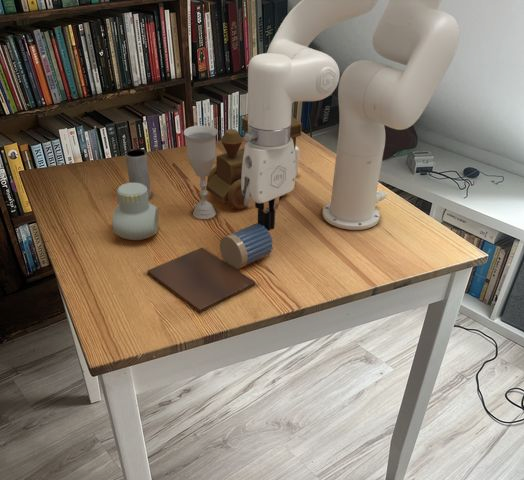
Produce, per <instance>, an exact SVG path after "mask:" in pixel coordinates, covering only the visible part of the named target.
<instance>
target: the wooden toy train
mask: <svg viewBox="0 0 524 480" xmlns="http://www.w3.org/2000/svg"><path fill="white" fill-rule="evenodd" d="M302 128H303V123H302V122H301V121H299V120H298V119H296V118H295V117H293V116H291V133H290V137H291V138H292V139H293V143H294V149H295V146H297V145H296V144H297V137H301V136H302V130H303V129H302ZM241 130H242V131H243V132H245V133H246V134H247V133H248V115H246V116H244V117H241ZM243 139H244V138H242V136H241V134H240V132H239V131H238V130H237V129H233V128H230V129H227V130H225V132H224V134H223V135H222V137H221V140H220V141H221V143H222V146H223V148H224V150H225V152H224V153H221V154H218V155H216V157H215V160H216V161H215V164H216V165H215V166H214V167H212V169H211V171H210V173H209V175H208V176H207V179H206V184H207V186H206V188H205V190H206V192H207V193H210V194H211V195H212V196H214V198H217V199H218V200H219V201H220V202H221V203H228V204H229V206H230V207H231V208H232V209H235V210H244V209H246V208H247V207H246V206H245V205H244V199H245V196H243V194H242V189H241V175H242V162H243V155H244V149H245V148H240V147H241V145H242V142H243ZM286 195H287V194H285V195H283V196H282V197H281V198H284V197H285V196H286Z"/></svg>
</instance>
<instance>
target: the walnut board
mask: <svg viewBox="0 0 524 480" xmlns="http://www.w3.org/2000/svg"><path fill="white" fill-rule="evenodd" d="M147 275H149V277H150V278H152V279H154V280H155V281H156V282H158V283H159V284H161V286H163V287H164V288H166V289H167V290H168V291H169V292H171V293H172V294H174V295H175V296H176V297H178V298H179V299H181V300H182V301H183V302H184V303H186V304H187V305H188V306H190V307H191V308H192V309H194V310H195V311H197V313H199V314H202V312H205V311H207V310H208V309H211V308H212V307H215V306H217V305H219V304H220V303H223V302H225V301H227V300H229V299H230V298H233V297H235V296H236V295H239V294H241V293H243V292H244V291H247V290H248V289H249V290H250V289H251V288H253V287H255V286H256V281H254V280H253V279H252V278H250V277H249V276H247V275H246V274H244V273H243V272H241V271H239V269H237V270H236V269H234V268H233V267H231V266H230V265H228V264H227V263H225V261H224V260H223V259H221V258H219V257H217V256H216V255H215V254H213V253H211V252H210V251H208V250H207V249H205V248H203V247H199V248H197V249H195V250H193V251H190V252H187V253H185V254H183V255H181V256H178V257H176V258H174V259H171V260H169V261H166V262H164V263H162V264H159V265H157V266H155V267H153V268H150V269H148V270H147Z"/></svg>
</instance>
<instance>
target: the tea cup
mask: <svg viewBox="0 0 524 480" xmlns="http://www.w3.org/2000/svg"><path fill="white" fill-rule="evenodd" d="M273 246H274V242H273V238H272V237H271V232H269V231H268V230H267V229H266V228H265V227H264V226H263V225H261V224H258V222H256V223H254V224H251V225H249V226H246V227H244V228H242V229H239V230H237V231H235V232H232V233H230V234H227V235H224V236H223V237H222V238H220V240H219V252H220V255H221V258H222V261H224V262H225V263H227V264H228V265H230V266H231V267H233V268H234V269H236V270H240V269H242V268H244V267H246V266H248V265H251V264H252V263H254V262H256V261H258V260H261V259H263V258H265V257H267V256H269V255H270V254H271V253H272V250H273Z"/></svg>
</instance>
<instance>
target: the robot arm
mask: <svg viewBox="0 0 524 480" xmlns="http://www.w3.org/2000/svg"><path fill="white" fill-rule="evenodd" d="M378 1H379V0H300V1H299V2H298V3H297V4H296V5H295V6H294V7H293V8H292V9H291V10H290V11H289V12H288V14H287V15H286V16H285V17H284V19H283V20H282V22H281V24H280V26H279V27H278V29H277V31H276V33H275V34H274V36H273V38H272V39H271V42H270V44H269V45H268V49H267V51H266V52H265V53H260V54H255V55H254V56H253V57H251V59H250V60H249V62H248V67H247V116H248V133H247V132H246V133H245V134H244V135H243V137H244V138H243V139H244V140H245V142H246V143H245V145H244V148H243V149H244V155H243V162H242V175H241V189H242V194H243V196H245V199H244V205H245V206H246V208H248V209H251V208H255V209H257V224H261V225H263V226H264V227H265V228H266V229H267V230H268V232H269V231H271V230H274V229H275V226H276V224H275V223H276V210H278V208H279V204H280V202H281V201H280V200H281V199H282V198H283V197H284V196H283V195H285V194H286V195H287V194H289V193H291V192H292V191H293V190H294V189H295V186H296V177H295V149H294V143H293V139H292V138H291V137H290V133H291V117H292V115H293V113H292V112H293V103H294V102H317V101H321V100H324V99H326V98H328V97H329V96H331V95H332V94H333V93H334V92H335V90H336V89H337V87H338V89H337V96H338V97H337V100H338V114H339V119H338V120H339V122H338V123H339V124H338V126H339V127H338V137H337V145H336V153H335V161H334V169H333V179H332V188H331V196H330V202H328V203H327V204H325V205H324V206H323V208H322V218H323V220H324V221H326V222H327V223H328V224H329V225H331V226H333V227H336V228H338V229H344V230H348V231H363V230H367V229H370V228H372V227H374V226H376V225H377V224H378V223H379V221H380V217H381V214H380V211H379V210H378V209H377V208H376V207H377V204H378V203H379V202H381V201H383V200H385V199H386V198H387V192H386V191H385V190H380V191H378V186H379V181H380V174H381V169H382V164H383V157H384V151H385V146H386V129H385V127H388V128H390V129H394V130H397V131H399V130H400V131H401V130H407V129H409V128H410V127H412V126H413V125H414V124H415V123H416V122H417V121H418V120H419V119H420V117H421V116H422V114H423V112H424V111H425V110H426V108H427V106H428V104H429V102H430V101H431V99H432V97H433V96H434V93H435V92H436V90H437V88H438V86H439V85H440V84H441V81H442V80H443V79H444V76H445V75H446V73H447V71H448V69H449V67H450V65H451V63H452V61H453V59H454V57H455V55H456V52H457V49H458V46H459V40H460V27H459V23H458V21H457V20H456V18H455V17H454V16H453V15H451V14H450V13H448V12H446V11H443V10H440V9H439V8H440V5H441V3H442V1H443V0H389V1H388V3H387V4H386V7H385V9H384V10H383V12H382V15H381V16H380V19H379V21H378V23H377V25H376V27H375V29H374V32H373V35H372V45H373V49H374V51H375V52H376V53H377V54H378V55H379V56H380V57H382V58H383V59H386V60H388V61H391V62H395V63H397V64H400V65H404V66H405V67H404V70H402V69H398V68H396V67H393V66H390V65H388V64H384V63H381V62H378V61H375V60H370V59H361V60H356V61H354V62H352V63H350V64H349V65H348V66H347V67H346V68H345V69H344V70H343V72H342V74H341V76H340V68H339V64H338V63H337V61H336V60H335V59H334V58H333V57H332V56H330V54H327V53H325V52H323V51H320V50H317V49H313V48H311V47H309V46H310V44H311V43H312V42H313V41H314V40H315V38H316V37H317V36H319V34H321V33H322V32H323V31H325V30H326V29H328V28H329V27H331V26H333V25H337V24H339V23H342V22H345V21H349V20H351V19H355V18H358V17H360V16H362V15H365V14H368V13H369V12H371V11H372V10H373V9H374V8H375V7H376V5H377V3H378ZM286 195H285V196H286ZM282 196H283V197H282Z"/></svg>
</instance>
